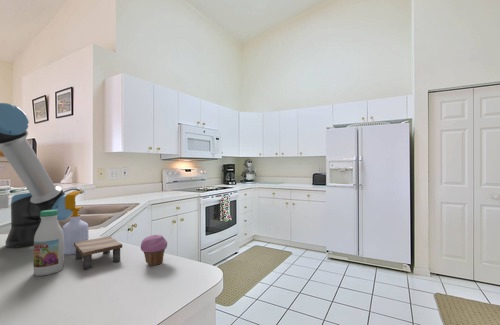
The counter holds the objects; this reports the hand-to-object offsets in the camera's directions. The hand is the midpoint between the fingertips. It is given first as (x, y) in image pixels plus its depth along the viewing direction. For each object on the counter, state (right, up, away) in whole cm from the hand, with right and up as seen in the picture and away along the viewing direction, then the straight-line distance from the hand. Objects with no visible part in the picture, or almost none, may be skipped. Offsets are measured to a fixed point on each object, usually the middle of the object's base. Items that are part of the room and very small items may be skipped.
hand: (8, 201), depth 77 cm
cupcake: (+42, -24, +9) cm, 49 cm away
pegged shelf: (+20, -24, +13) cm, 34 cm away
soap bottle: (+4, -24, +23) cm, 34 cm away
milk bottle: (+10, -24, +3) cm, 26 cm away
